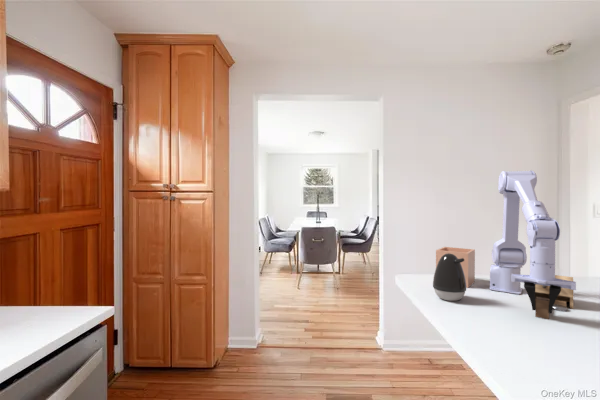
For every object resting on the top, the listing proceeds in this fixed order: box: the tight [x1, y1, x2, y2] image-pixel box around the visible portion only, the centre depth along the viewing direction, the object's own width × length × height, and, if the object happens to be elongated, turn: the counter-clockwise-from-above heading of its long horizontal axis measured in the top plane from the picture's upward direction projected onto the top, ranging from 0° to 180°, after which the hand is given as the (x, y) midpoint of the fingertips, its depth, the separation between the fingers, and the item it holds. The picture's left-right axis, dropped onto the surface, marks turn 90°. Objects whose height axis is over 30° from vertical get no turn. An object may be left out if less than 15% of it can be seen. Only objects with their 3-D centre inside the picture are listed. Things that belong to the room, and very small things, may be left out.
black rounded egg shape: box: [432, 253, 467, 302], centre depth 110 cm, size 10×10×15 cm
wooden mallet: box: [534, 297, 567, 320], centre depth 97 cm, size 7×16×5 cm, turn 142°
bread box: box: [535, 274, 574, 310], centre depth 106 cm, size 10×10×8 cm
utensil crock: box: [435, 246, 476, 289], centre depth 131 cm, size 12×12×13 cm
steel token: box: [552, 304, 568, 313], centre depth 100 cm, size 4×4×1 cm
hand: (542, 310), depth 92 cm, fingers closed on wooden mallet, 3 cm apart
